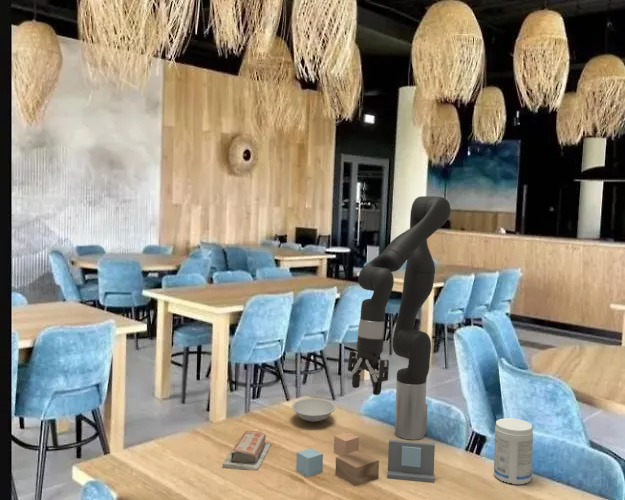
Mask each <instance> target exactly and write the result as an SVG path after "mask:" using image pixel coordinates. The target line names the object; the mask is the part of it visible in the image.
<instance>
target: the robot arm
mask: <svg viewBox="0 0 625 500" xmlns="http://www.w3.org/2000/svg"><path fill="white" fill-rule="evenodd" d="M411 204H412V205H411V208H410V216H409V217H410V218H409V229H407V230H405V231H404V232H402V233H400V234H399V235H397V236H396V237H395V238H394V239H392V240H391V242H390V243H389V244H388V245H387V246H386V247H385V248H384V250H383V251H382V252H381V254H379V255H377V256H376V257H374V258H373V259H371V260H370V261H369V262H367V263H366V264H365V265H364V266H362V268H361V270H360V271H359V274H358V276H357V278H358V285H359V287H360V288H361V289H363V290H366V291H371V292H373V293H372V295H371V298H367V299H363V300H362V302H361V306H360V315H359V316H360V318H359V319H360V320H359V323H358V324H359V325H358V327H357V328H358V329H357V339H356V350H352V351H349V357H348V364H347V371H348V372H350V373H351V375H352V377H351V380H352V381H351V385H352V386H351V387H352V388H354V389H357V388H359V387H360V383H361V375H360V374H361V373H362V371H367V372H369V374H370V375H371V376H372V378H373V380H374V382H373V387H372V395H373V396H379V395H380V394H381V393H382V384H383V382H387V381H388V380H389V370H390V369H389V366H390V365H389V363H390V361H389V360H388V359H381V354H382V353H383V350H384V349H383V348H384V337H385V319H386V316H385V315H386V307H387V305H388V302H389V299H390V296H391V293H392V290H393V288H394V283H395V282H394V281H395V279H394V275H393V273H394V272H398V270H400V269H401V268H402V267H403V265H404V264H405V269H404V270H405V271H404V277H403V285H402V293H401V298H400V299H401V300H400V304H399V310H398V315H397V318H396V323H395V327H394V331H393V336H392V350H393V352H394V353H395V354H394V355H396V356H399V357H401V358H404V359H408V363H407V364H408V365H407V367H403V368H400V369H398V370H397V372H396V388H395V389H396V390H395V391H396V392H395V414H394V415H395V418H394V419H395V420H394V435H395V436H396V437H399V438H401V439H405V440H410V441H413V440H420V439H423V438H424V437H425V435H427V432H428V431H427V427H428V425H427V423H428V404H427V403H426V401H427V400H426V398H427V377H428V374H429V371H430V364H431V363H430V362H431V352H432V341H431V337H430V335H429V334H428V333H426V332H425V331H422V330H417V329H415V323H416V318H417V315H418V313H419V311H420V310H421V307H422V306H423V305H424V303H425V302H426V301H427V300H428V298H429V296H430V295H431V292H433V291H432V290H433V287H434V282H435V274H436V266H435V262H434V259H433V257H432V254H431V251H430V249H429V246H428V238H430V237H431V236H432V235H433V234H435V233H436V232H437V230H440V228H441V227H443V226H444V225H445V224H446V223H447V221H448V220H449V218H450V216H451V205H450V202H449V201H448V199H447V198H446V197H442V196H436V195H435V196H434V195H433V196H432V195H431V196H427V195H425V196H417V197H416V198H415V199H414V200H413V202H412V203H411Z"/></svg>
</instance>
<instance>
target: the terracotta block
mask: <svg viewBox="0 0 625 500" xmlns="http://www.w3.org/2000/svg"><path fill="white" fill-rule="evenodd" d="M333 439H334V440H333V453H334V454H336V455H338V456H342V455H345V454H348V453H351V452H355V451H358V450H359V446H360V445H359V444H360V442H359V441H360V437H359V436H357V435H355V434H352V433H350V432H348V431H347V432H343V433H339V434H336V435H334V436H333Z"/></svg>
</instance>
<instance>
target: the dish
mask: <svg viewBox="0 0 625 500" xmlns="http://www.w3.org/2000/svg"><path fill="white" fill-rule="evenodd" d="M291 409H292V411H294V412H295V413H296V415H297V416H298V417H300V418H301V419H302V420H304V421H307V422H313V423H314V422H315V423H316V422H320V421H324V420H325V419H327V418H328V417H330V415H331V414H332V413H334V411H335V410H336V405H335V403H334V402H333V401H331V400H328V399H324V398H319V397H309V398H302V399H298V400H296V401H294V402H293V404H291Z"/></svg>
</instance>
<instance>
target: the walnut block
mask: <svg viewBox="0 0 625 500" xmlns="http://www.w3.org/2000/svg"><path fill="white" fill-rule="evenodd" d="M379 465H380V460H379V459H377V458H375V457H372V456H371V455H369V454H367V453H365V452H362V451H361V450H359V449H358V451H355V452H351V453H348V454H345V455H342V456H340V455H338V456H336V457H335V472H334V473H335V476H336V477H338V478H340V479H342V480H344V481H345V482H347V483H349V484H351V485H353V486H355V487H357V486H361V485H364V484H366V483H369V482H372V481H374V480H377V479H379V471H380V469H379V468H380V466H379Z"/></svg>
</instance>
